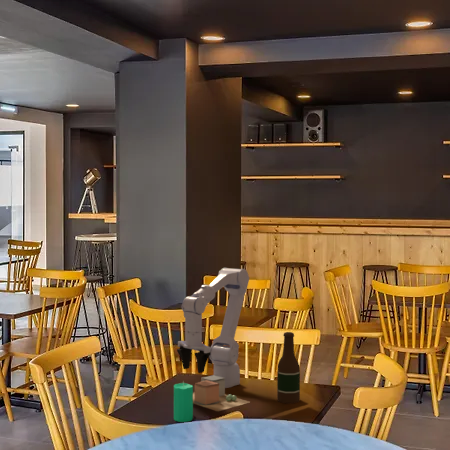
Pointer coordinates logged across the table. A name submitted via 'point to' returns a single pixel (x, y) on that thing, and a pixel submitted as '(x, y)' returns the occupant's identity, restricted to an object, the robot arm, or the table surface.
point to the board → (221, 403)
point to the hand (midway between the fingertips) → (193, 370)
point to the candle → (183, 402)
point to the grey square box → (217, 380)
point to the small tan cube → (206, 392)
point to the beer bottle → (288, 373)
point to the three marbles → (231, 397)
